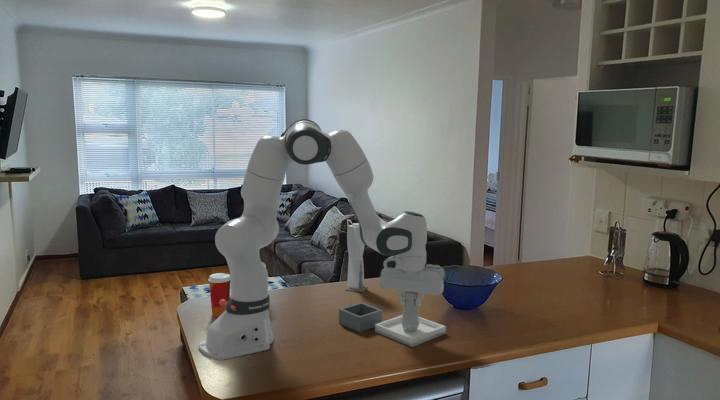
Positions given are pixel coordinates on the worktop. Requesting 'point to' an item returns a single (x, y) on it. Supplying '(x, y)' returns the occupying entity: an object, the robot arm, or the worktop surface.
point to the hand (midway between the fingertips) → (410, 304)
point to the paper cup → (219, 292)
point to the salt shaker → (410, 312)
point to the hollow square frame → (360, 316)
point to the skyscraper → (355, 259)
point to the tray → (421, 335)
